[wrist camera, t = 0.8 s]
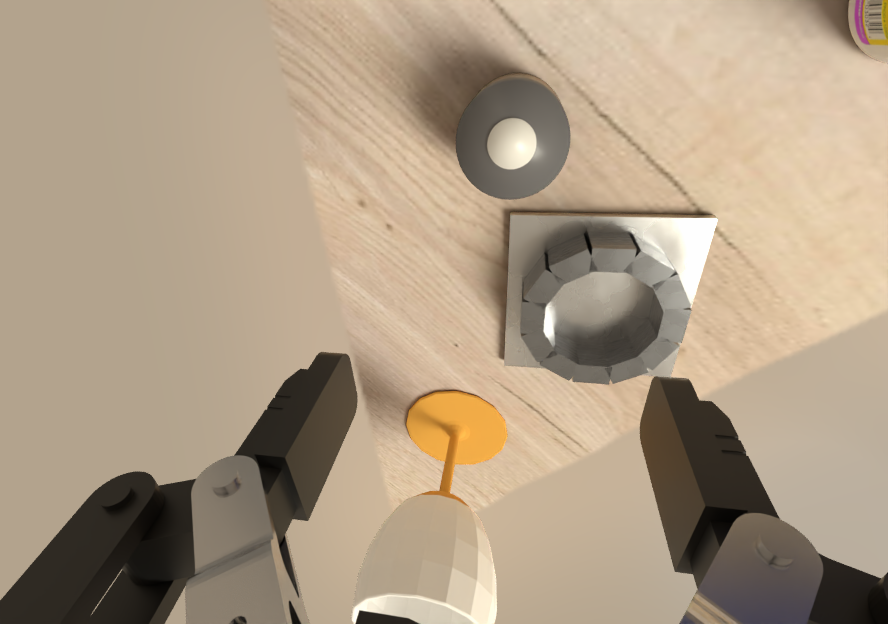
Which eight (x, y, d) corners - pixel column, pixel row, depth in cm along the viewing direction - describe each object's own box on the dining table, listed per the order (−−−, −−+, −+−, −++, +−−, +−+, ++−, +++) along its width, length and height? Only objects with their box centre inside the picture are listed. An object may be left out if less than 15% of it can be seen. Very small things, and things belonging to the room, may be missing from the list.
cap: (465, 74, 25) (454, 82, 21) (569, 71, 24) (577, 78, 20) (466, 176, 28) (456, 199, 24) (559, 176, 27) (564, 201, 23)
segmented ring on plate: (510, 211, 28) (508, 229, 26) (714, 215, 26) (734, 234, 24) (504, 360, 35) (502, 387, 32) (668, 371, 33) (680, 401, 30)
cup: (521, 455, 40) (517, 669, 27) (430, 468, 43) (385, 666, 30) (486, 380, 36) (461, 587, 23) (389, 400, 39) (316, 593, 26)
